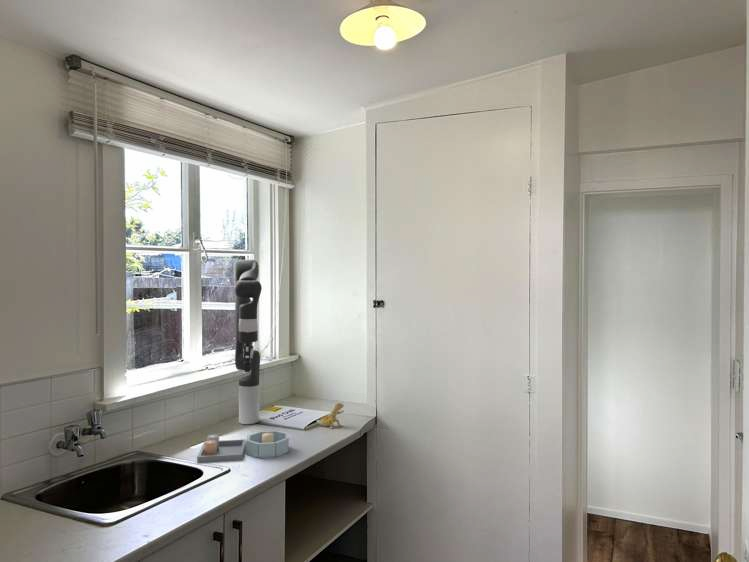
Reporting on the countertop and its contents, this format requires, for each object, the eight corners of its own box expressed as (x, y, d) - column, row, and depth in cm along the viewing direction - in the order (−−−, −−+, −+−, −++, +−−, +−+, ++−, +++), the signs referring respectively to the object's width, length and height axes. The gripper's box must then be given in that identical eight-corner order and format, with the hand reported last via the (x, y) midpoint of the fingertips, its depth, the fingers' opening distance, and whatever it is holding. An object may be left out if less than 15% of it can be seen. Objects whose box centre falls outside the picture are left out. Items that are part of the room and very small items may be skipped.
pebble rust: (205, 454, 201) (205, 440, 201) (217, 454, 201) (217, 439, 201) (203, 458, 196) (203, 444, 196) (215, 458, 197) (215, 443, 197)
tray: (204, 446, 211) (204, 441, 211) (245, 444, 213) (245, 439, 213) (197, 462, 193) (197, 456, 193) (242, 460, 196) (242, 454, 195)
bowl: (248, 445, 212) (248, 431, 212) (288, 443, 215) (288, 429, 215) (245, 459, 197) (245, 444, 197) (288, 456, 199) (288, 442, 199)
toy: (345, 423, 232) (339, 401, 235) (315, 433, 236) (310, 411, 239) (351, 423, 238) (345, 401, 241) (321, 432, 242) (316, 411, 245)
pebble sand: (262, 446, 208) (262, 432, 208) (273, 446, 208) (273, 432, 208) (261, 450, 203) (261, 436, 203) (273, 450, 204) (273, 435, 204)
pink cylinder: (208, 448, 208) (208, 434, 208) (219, 448, 208) (219, 434, 208) (206, 452, 203) (206, 438, 203) (218, 451, 204) (218, 437, 204)
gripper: (240, 328, 220) (240, 367, 220) (237, 332, 206) (237, 373, 206) (258, 327, 221) (258, 366, 221) (256, 331, 207) (256, 372, 207)
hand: (248, 369), depth 214 cm, fingers open, 8 cm apart
